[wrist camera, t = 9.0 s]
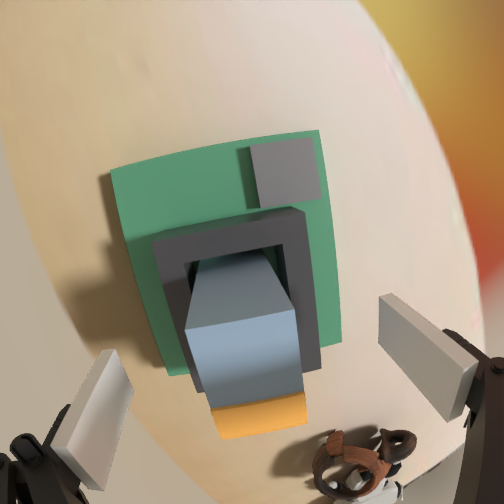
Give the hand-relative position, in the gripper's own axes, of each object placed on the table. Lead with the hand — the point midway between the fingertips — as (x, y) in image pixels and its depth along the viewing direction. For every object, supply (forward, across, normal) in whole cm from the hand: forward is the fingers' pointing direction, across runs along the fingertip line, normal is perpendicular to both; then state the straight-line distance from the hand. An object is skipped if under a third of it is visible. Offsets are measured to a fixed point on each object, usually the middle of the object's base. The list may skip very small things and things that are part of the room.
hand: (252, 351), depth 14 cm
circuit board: (+9, 0, +2) cm, 9 cm away
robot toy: (+9, +11, -35) cm, 38 cm away
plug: (+7, 0, 0) cm, 7 cm away
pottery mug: (+9, +10, -23) cm, 26 cm away
